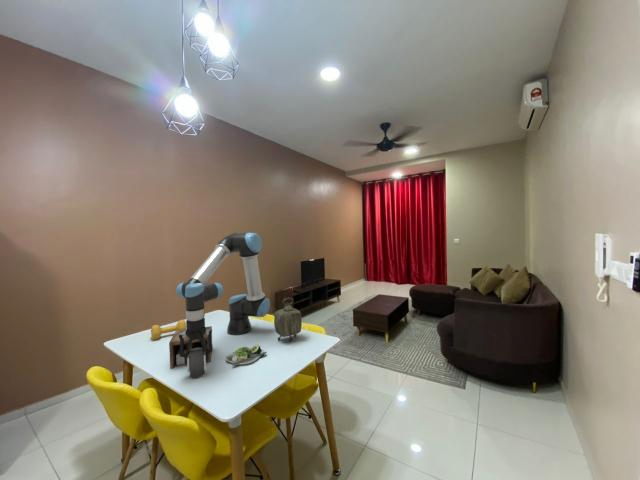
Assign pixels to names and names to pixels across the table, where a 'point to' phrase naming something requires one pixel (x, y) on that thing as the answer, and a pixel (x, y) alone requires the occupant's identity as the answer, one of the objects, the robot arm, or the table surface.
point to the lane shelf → (185, 345)
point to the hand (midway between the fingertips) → (197, 369)
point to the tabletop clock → (287, 321)
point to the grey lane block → (180, 358)
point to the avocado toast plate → (245, 355)
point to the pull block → (196, 362)
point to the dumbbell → (166, 329)
